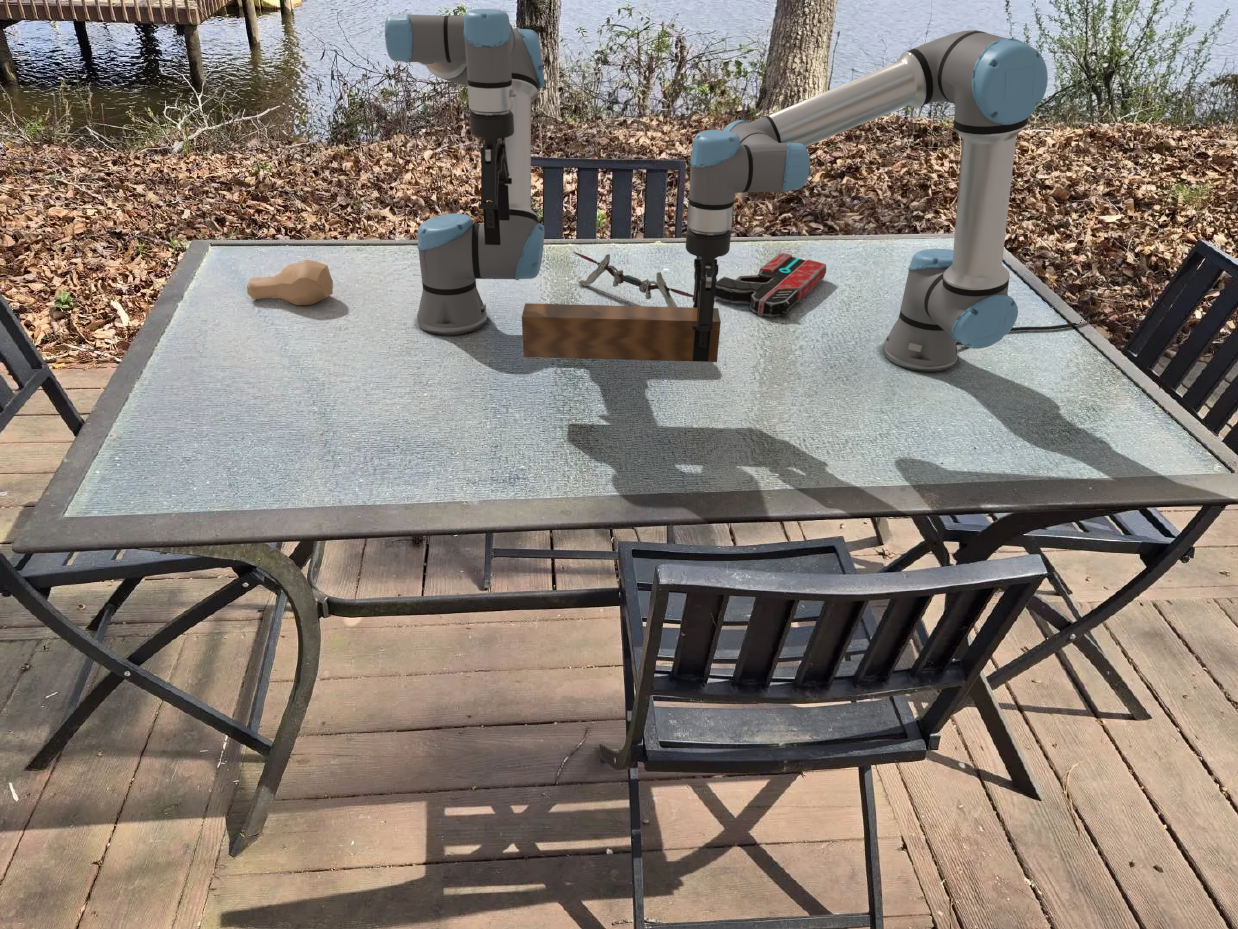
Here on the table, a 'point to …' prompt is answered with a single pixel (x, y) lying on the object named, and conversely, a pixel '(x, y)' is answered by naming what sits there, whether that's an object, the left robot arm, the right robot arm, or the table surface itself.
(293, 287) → the squash
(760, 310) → the gun
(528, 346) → the bar
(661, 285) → the bow
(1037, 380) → the table surface
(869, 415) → the table surface
